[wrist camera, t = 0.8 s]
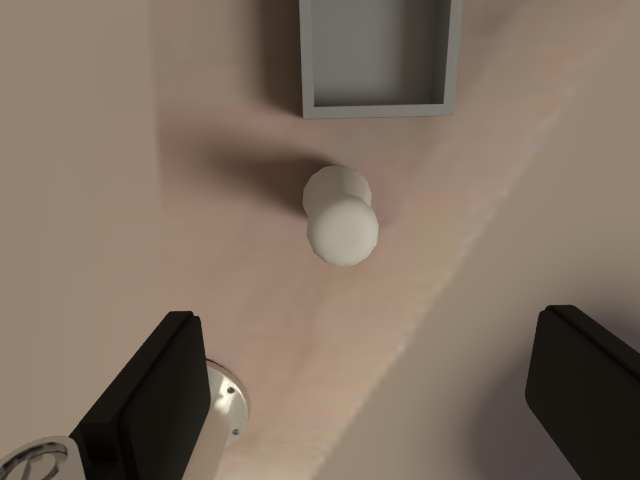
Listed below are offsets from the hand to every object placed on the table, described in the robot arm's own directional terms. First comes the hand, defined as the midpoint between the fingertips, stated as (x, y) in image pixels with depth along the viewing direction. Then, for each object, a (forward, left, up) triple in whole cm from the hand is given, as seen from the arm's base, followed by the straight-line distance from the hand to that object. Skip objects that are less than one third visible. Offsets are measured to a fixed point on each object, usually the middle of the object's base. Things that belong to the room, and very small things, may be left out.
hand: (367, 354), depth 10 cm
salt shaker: (0, 0, -24) cm, 24 cm away
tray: (+12, -3, -24) cm, 27 cm away
